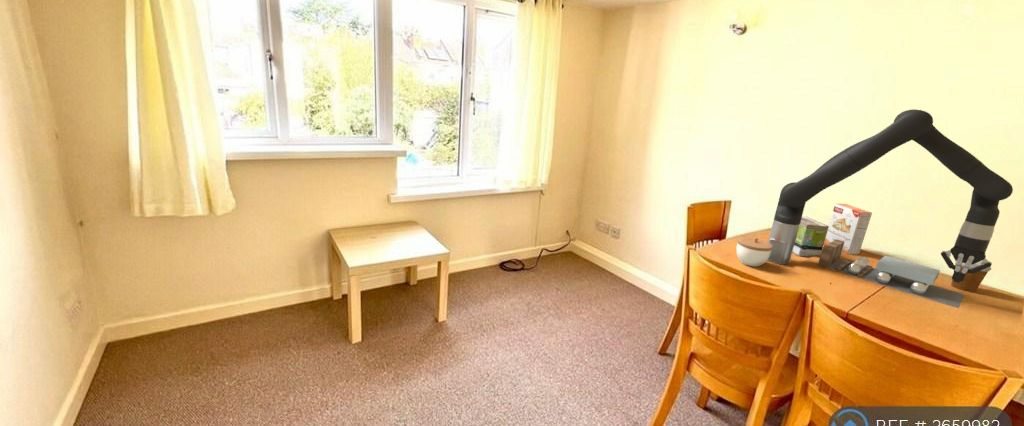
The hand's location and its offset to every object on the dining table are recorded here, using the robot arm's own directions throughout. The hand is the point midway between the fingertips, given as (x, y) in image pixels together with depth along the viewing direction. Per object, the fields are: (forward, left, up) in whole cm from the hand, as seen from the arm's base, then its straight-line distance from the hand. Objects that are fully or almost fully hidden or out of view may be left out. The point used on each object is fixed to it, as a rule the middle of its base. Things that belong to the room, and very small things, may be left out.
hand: (956, 281), depth 149 cm
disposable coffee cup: (+17, -2, -8) cm, 19 cm away
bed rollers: (0, +13, -6) cm, 15 cm away
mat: (0, +16, -7) cm, 18 cm away
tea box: (+7, +50, -8) cm, 51 cm away
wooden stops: (0, +31, -7) cm, 32 cm away
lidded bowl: (-30, +56, -8) cm, 64 cm away
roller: (0, +29, -6) cm, 29 cm away
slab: (0, +13, -2) cm, 13 cm away
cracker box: (+26, +39, -8) cm, 48 cm away
